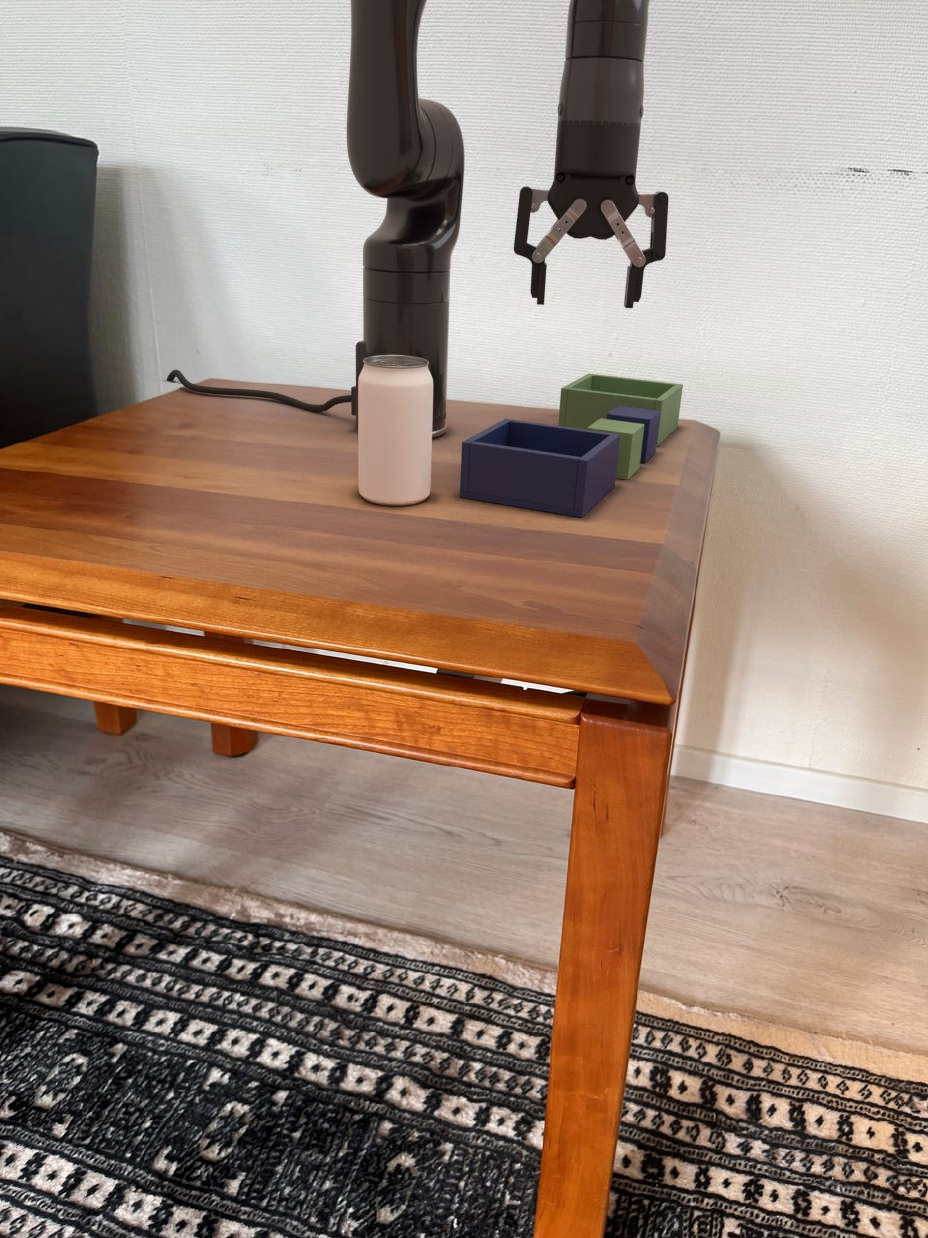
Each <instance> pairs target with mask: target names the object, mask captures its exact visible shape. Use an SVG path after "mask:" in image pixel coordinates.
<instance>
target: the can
mask: <svg viewBox="0 0 928 1238" xmlns="http://www.w3.org/2000/svg"><path fill="white" fill-rule="evenodd" d="M363 362H364V366H363V369H362V371H361V373H360V375H359V380H358V430H357V440H358V441H357V445H358V447H357V448H358V449H357V451H358V452H357V453H358V454H357V455H358V456H357V457H358V462H357V463H358V493H359V494H360V496H361V497H362V498H363V499H364V500H366V501H367V502H370V503H371V504H375V505H381V506H390V507H403V506H412V505H417V504H421V503H423V502H424V501H426V500H427V498H428V497H429V496H430V495H431V484H432V483H431V481H432V480H431V479H432V457H433V456H432V452H433V438H432V419H433V379H432V376H431V374H430V371H429V369H428V364H429V361H428V360H426V359H424V358H420V357H414V356H405V355H378V356H370V357H367V358H364V359H363Z"/></svg>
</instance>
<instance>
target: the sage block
mask: <svg viewBox="0 0 928 1238" xmlns="http://www.w3.org/2000/svg"><path fill="white" fill-rule="evenodd" d="M587 430H592V431H600V432H607V433H614V434H620V442H619V451H618V461H617V470H616V479H619V480H625V481H628V480H629V479H630V478H631V477H632V476H633V475H634V474H636V473H637V472H638V470H639V469H640V467H641V462H640V458H641V450H642V441H643V432H644V424H639V423H631V422H624V421H616V420H609V419H601V418H600V419H599V420H597V421H596V422H595V423H593V424H592V425H590V426H589V427H587Z"/></svg>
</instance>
